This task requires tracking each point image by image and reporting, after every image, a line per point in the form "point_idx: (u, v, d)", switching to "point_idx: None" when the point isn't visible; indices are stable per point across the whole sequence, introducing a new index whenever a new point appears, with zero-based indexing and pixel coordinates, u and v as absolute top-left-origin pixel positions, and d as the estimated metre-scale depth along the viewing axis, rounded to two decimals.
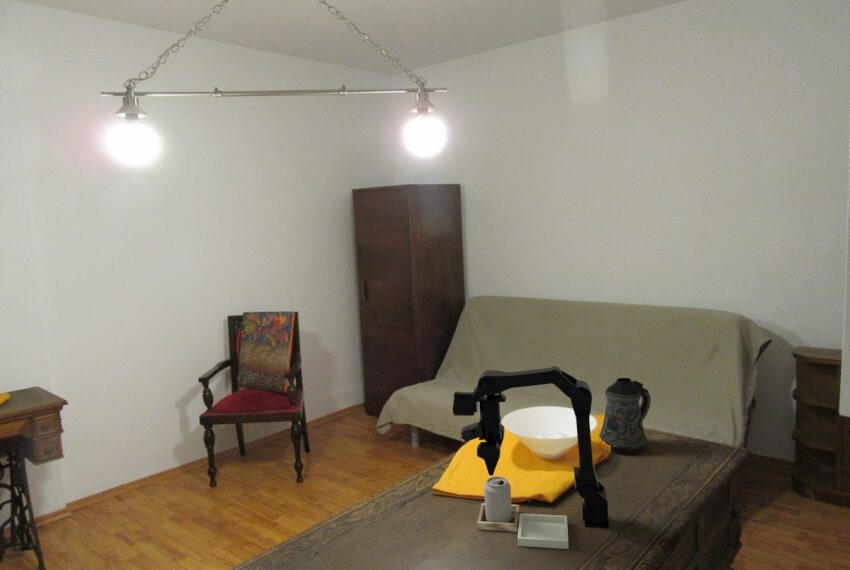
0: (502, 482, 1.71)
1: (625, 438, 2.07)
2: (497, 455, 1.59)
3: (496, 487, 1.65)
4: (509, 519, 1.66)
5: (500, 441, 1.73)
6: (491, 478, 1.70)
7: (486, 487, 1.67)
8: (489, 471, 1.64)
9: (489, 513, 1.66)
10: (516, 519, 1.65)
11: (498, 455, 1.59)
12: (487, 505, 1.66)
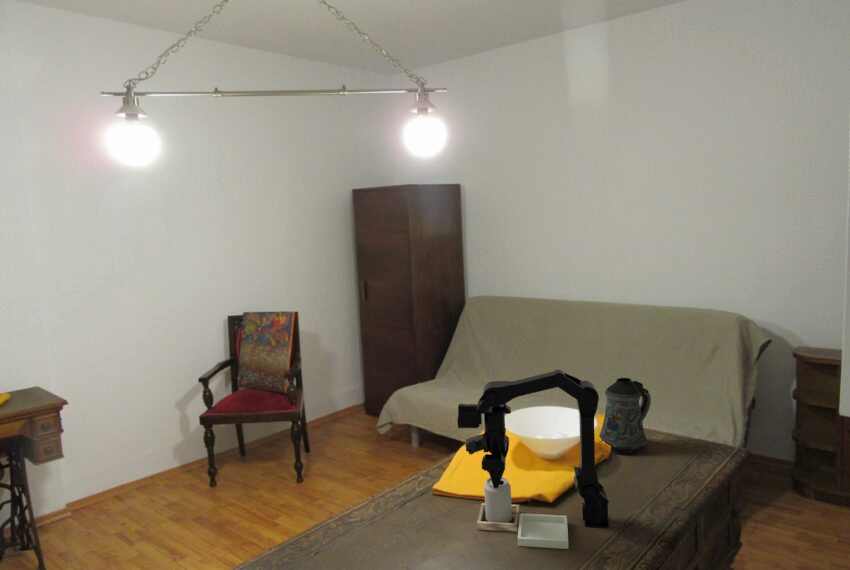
0: (502, 482, 1.71)
1: (625, 438, 2.07)
2: (502, 468, 1.57)
3: None
4: (509, 519, 1.66)
5: (505, 453, 1.71)
6: None
7: (486, 487, 1.67)
8: (494, 483, 1.62)
9: (489, 513, 1.66)
10: (516, 519, 1.65)
11: (503, 468, 1.57)
12: (487, 505, 1.66)
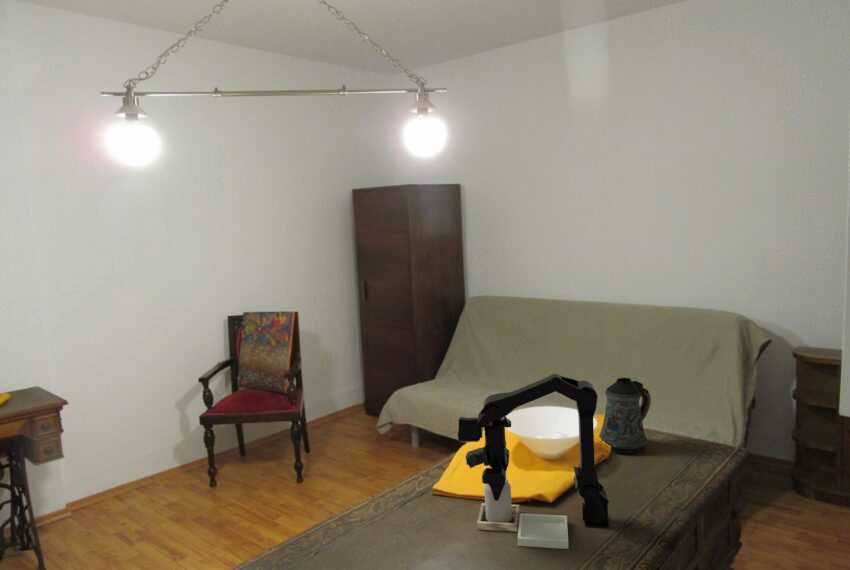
0: None
1: (625, 438, 2.07)
2: (503, 482, 1.58)
3: None
4: (509, 519, 1.66)
5: (505, 467, 1.71)
6: None
7: (486, 487, 1.67)
8: (495, 496, 1.63)
9: (489, 512, 1.66)
10: (516, 519, 1.65)
11: (504, 482, 1.58)
12: (487, 505, 1.66)
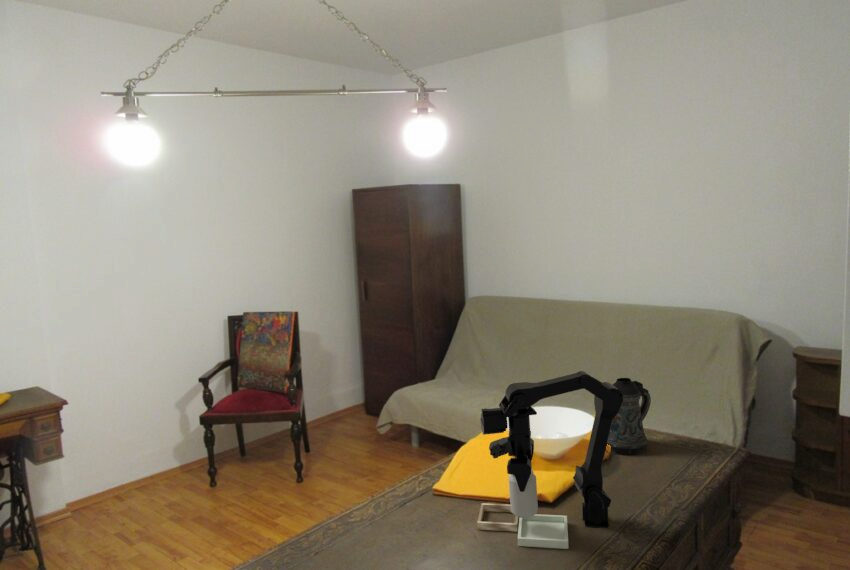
0: None
1: (625, 438, 2.07)
2: (528, 472, 1.52)
3: None
4: (535, 511, 1.61)
5: (530, 457, 1.66)
6: None
7: (511, 478, 1.61)
8: (520, 487, 1.58)
9: (514, 505, 1.61)
10: (516, 519, 1.65)
11: (529, 472, 1.52)
12: (512, 497, 1.61)
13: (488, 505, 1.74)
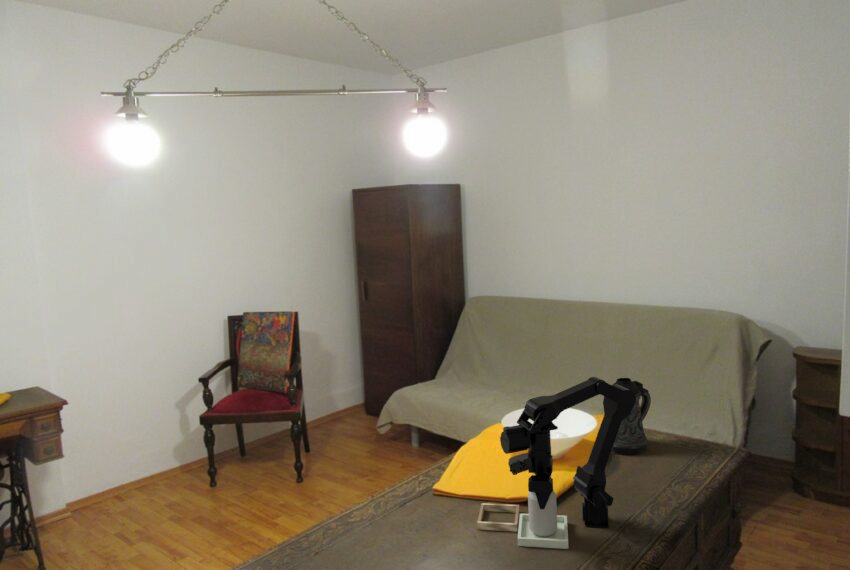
0: None
1: (625, 438, 2.07)
2: (550, 490, 1.49)
3: None
4: (555, 529, 1.58)
5: (549, 473, 1.62)
6: None
7: (530, 496, 1.58)
8: (541, 505, 1.55)
9: (533, 523, 1.58)
10: (516, 519, 1.65)
11: (551, 490, 1.49)
12: (531, 515, 1.58)
13: (488, 505, 1.74)
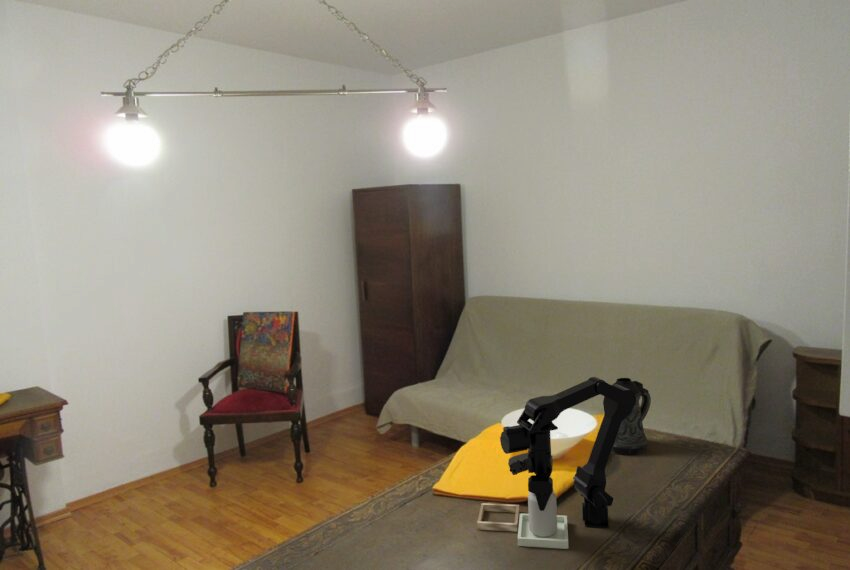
0: None
1: (625, 438, 2.07)
2: (550, 490, 1.49)
3: None
4: (555, 531, 1.58)
5: (549, 472, 1.63)
6: None
7: (530, 497, 1.58)
8: (540, 506, 1.54)
9: (533, 524, 1.58)
10: (516, 519, 1.65)
11: (551, 490, 1.49)
12: (531, 516, 1.58)
13: (488, 505, 1.74)
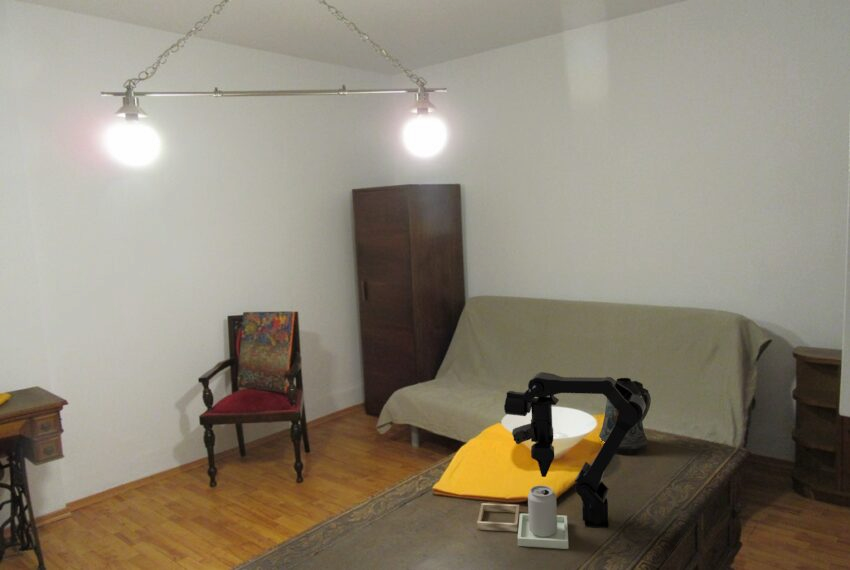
0: (546, 491, 1.62)
1: (625, 438, 2.07)
2: (552, 457, 1.60)
3: (541, 497, 1.56)
4: (555, 531, 1.58)
5: (550, 442, 1.74)
6: (535, 487, 1.61)
7: (530, 497, 1.58)
8: (542, 472, 1.65)
9: (533, 524, 1.58)
10: (516, 519, 1.65)
11: (553, 457, 1.60)
12: (531, 516, 1.58)
13: (488, 505, 1.74)
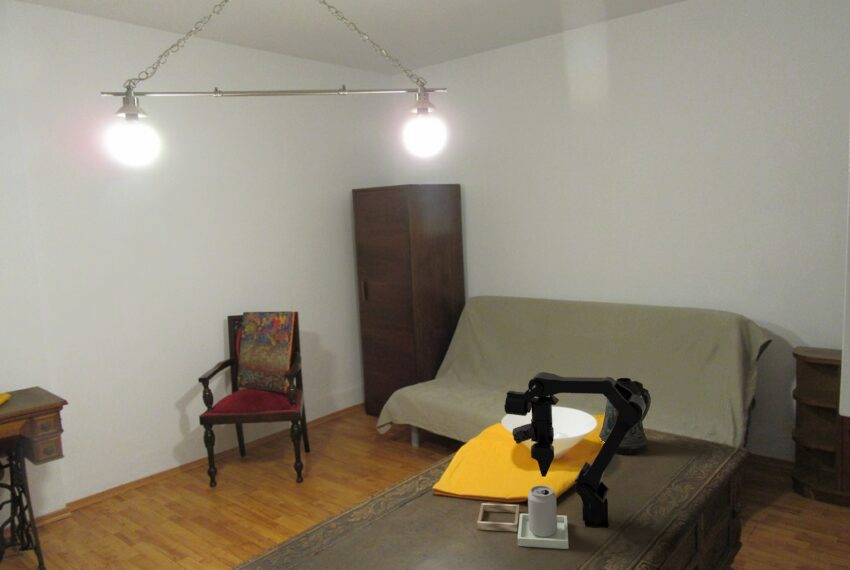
0: (546, 491, 1.62)
1: (625, 438, 2.07)
2: (552, 456, 1.60)
3: (541, 497, 1.56)
4: (555, 531, 1.58)
5: (550, 442, 1.74)
6: (535, 487, 1.61)
7: (530, 497, 1.58)
8: (542, 472, 1.65)
9: (533, 524, 1.58)
10: (516, 519, 1.65)
11: (553, 456, 1.60)
12: (531, 516, 1.58)
13: (488, 505, 1.74)
